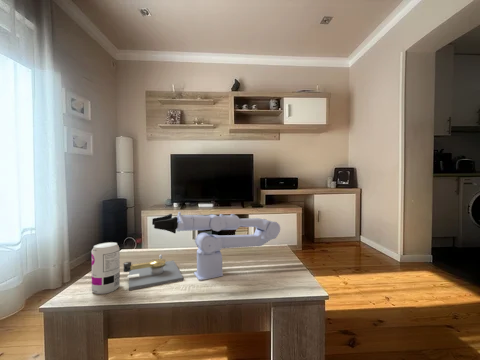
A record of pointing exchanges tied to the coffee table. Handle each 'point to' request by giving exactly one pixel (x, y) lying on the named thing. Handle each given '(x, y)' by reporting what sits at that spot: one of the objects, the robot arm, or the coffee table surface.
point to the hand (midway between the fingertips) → (153, 223)
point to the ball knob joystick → (144, 265)
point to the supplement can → (105, 267)
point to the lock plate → (154, 275)
